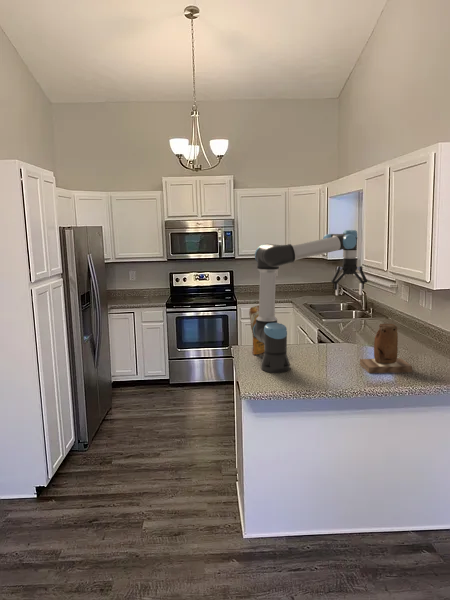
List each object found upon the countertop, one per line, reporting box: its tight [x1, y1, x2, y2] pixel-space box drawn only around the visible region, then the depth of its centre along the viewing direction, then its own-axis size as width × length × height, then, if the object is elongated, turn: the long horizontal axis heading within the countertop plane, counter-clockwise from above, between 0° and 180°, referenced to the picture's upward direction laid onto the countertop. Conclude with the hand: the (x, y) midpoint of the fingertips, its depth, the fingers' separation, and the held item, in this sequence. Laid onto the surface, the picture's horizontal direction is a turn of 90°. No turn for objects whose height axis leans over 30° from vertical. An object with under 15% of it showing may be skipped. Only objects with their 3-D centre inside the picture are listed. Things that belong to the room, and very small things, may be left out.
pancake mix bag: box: [248, 304, 264, 356], centre depth 280 cm, size 7×19×28 cm, turn 141°
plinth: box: [359, 357, 413, 374], centre depth 246 cm, size 22×15×3 cm
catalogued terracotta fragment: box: [373, 323, 399, 363], centre depth 244 cm, size 11×8×20 cm
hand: (348, 295), depth 269 cm, fingers open, 13 cm apart
